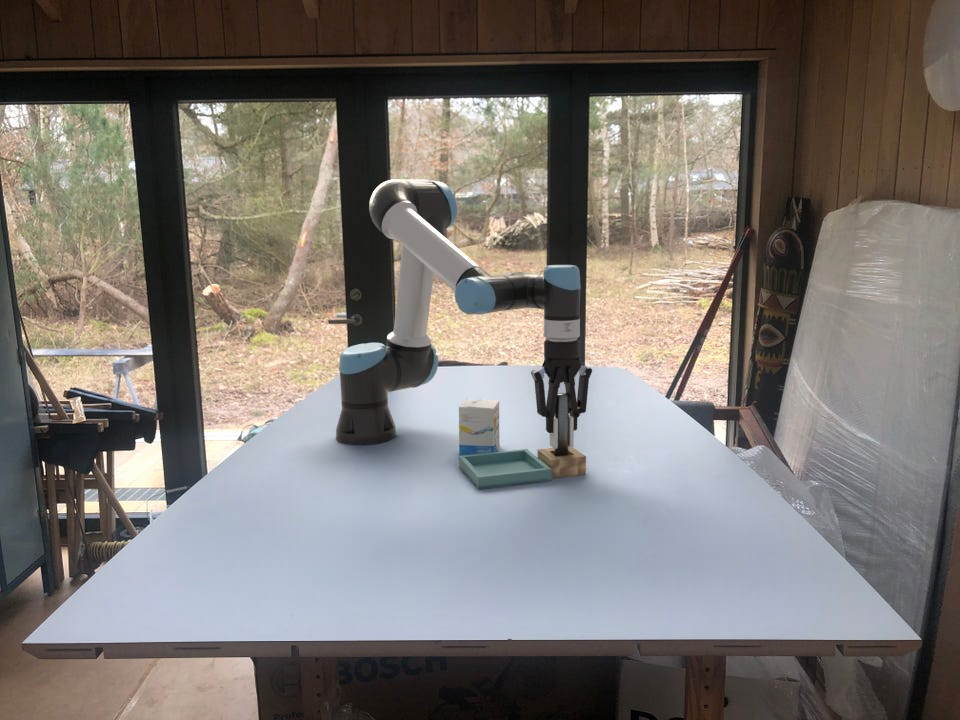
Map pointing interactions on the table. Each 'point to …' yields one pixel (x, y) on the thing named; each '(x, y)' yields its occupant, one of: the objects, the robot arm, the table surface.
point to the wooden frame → (564, 462)
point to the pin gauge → (562, 424)
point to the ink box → (478, 427)
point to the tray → (504, 469)
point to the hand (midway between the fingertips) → (561, 445)
